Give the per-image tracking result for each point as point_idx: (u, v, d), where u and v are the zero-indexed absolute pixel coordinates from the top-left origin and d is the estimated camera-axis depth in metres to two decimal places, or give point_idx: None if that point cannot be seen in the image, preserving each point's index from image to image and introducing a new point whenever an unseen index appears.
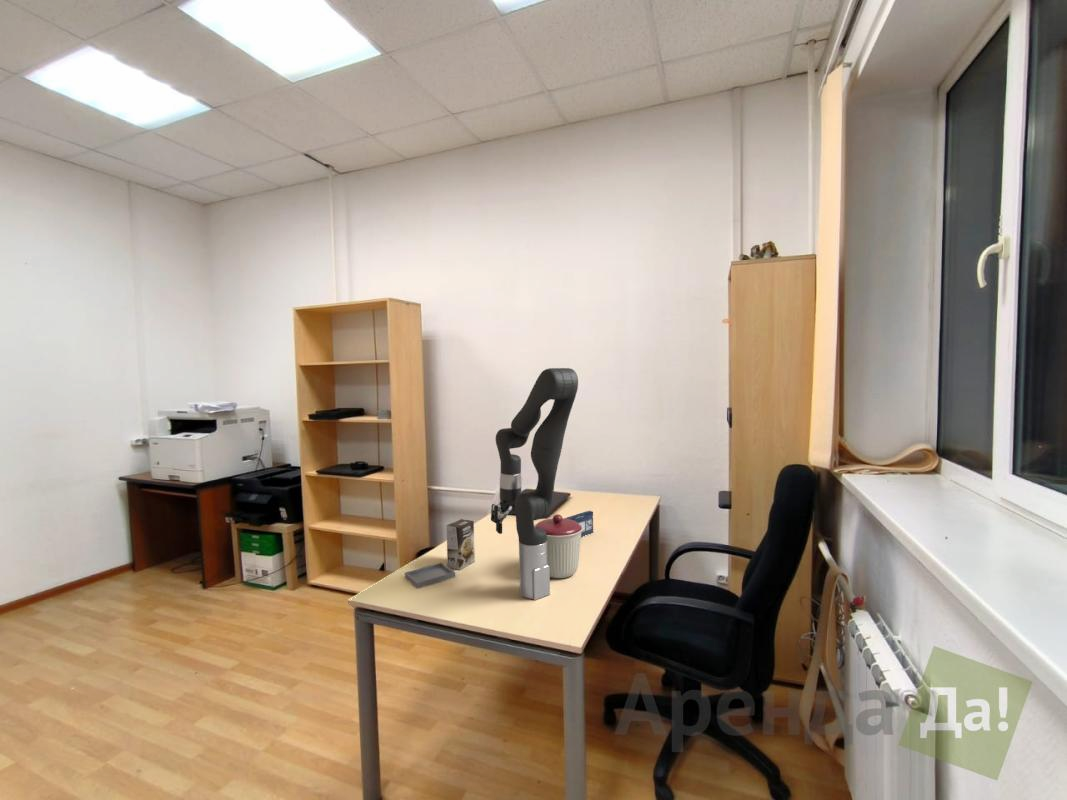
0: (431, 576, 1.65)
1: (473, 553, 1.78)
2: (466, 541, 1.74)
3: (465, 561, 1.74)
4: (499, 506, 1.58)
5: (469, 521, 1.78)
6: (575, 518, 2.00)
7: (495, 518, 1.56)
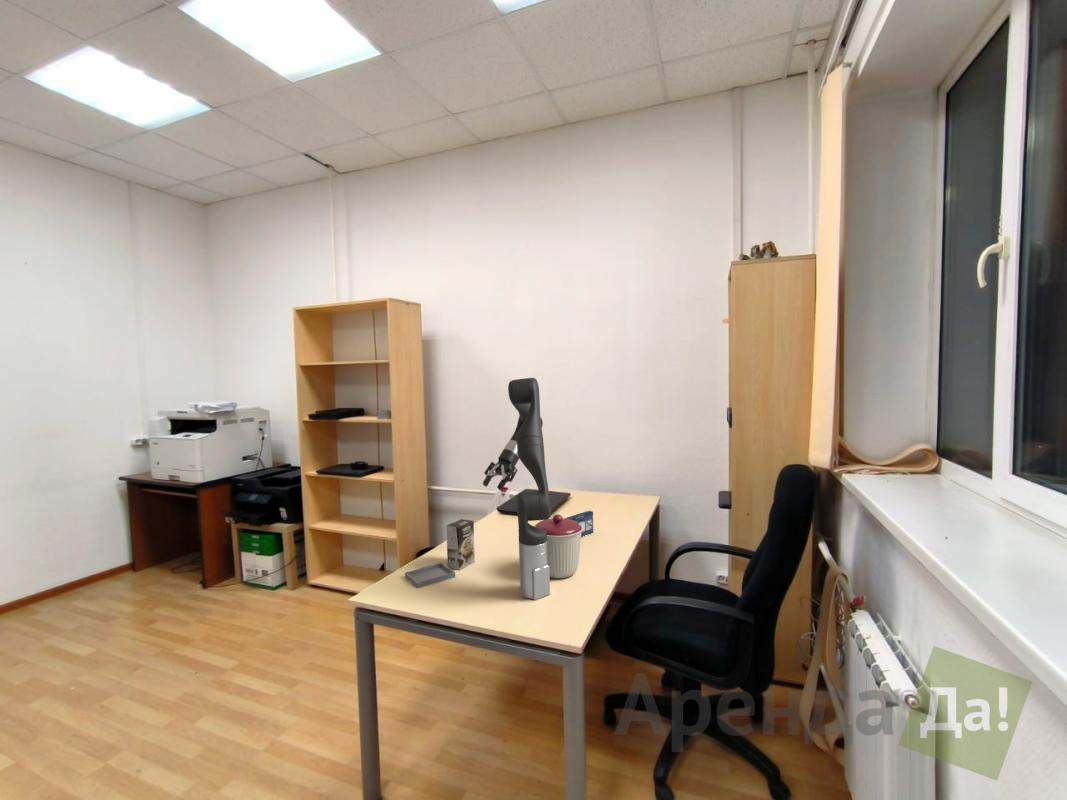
0: (431, 576, 1.65)
1: (473, 553, 1.78)
2: (466, 541, 1.74)
3: (465, 561, 1.74)
4: (495, 464, 1.91)
5: (469, 521, 1.78)
6: (575, 518, 2.00)
7: (486, 470, 1.90)
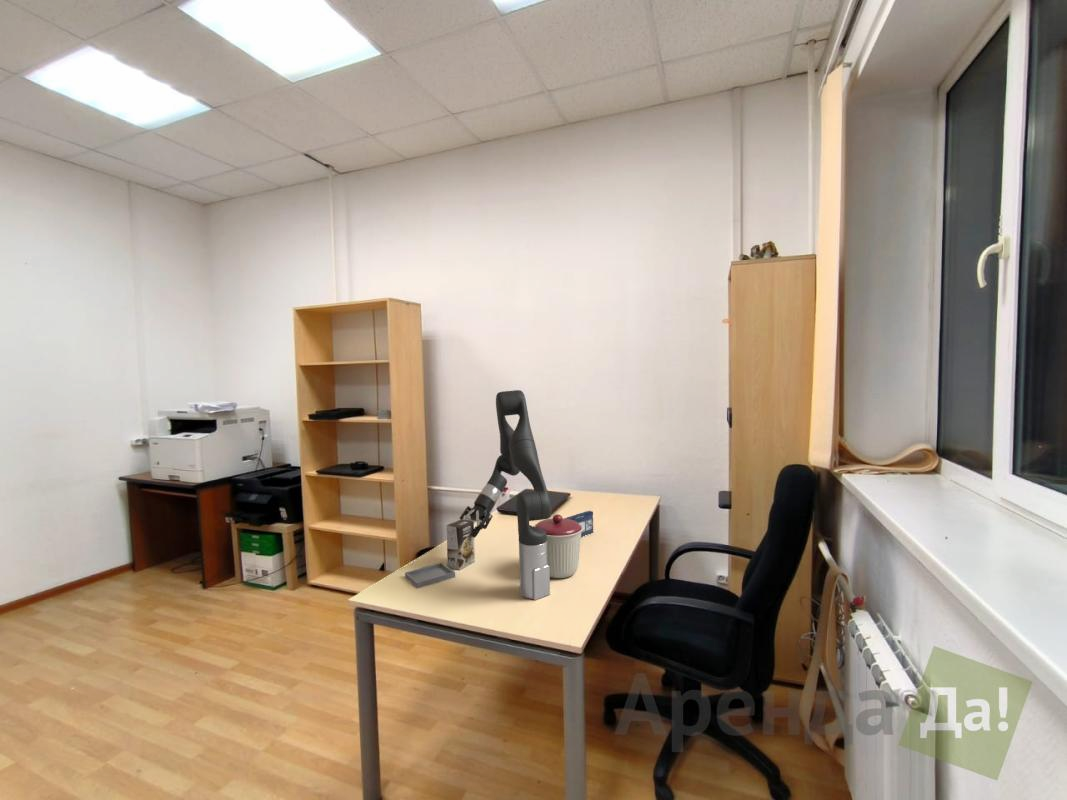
0: (431, 576, 1.65)
1: (473, 553, 1.78)
2: (466, 541, 1.74)
3: (465, 561, 1.74)
4: (471, 509, 1.85)
5: (469, 521, 1.78)
6: (575, 518, 2.00)
7: (462, 515, 1.85)
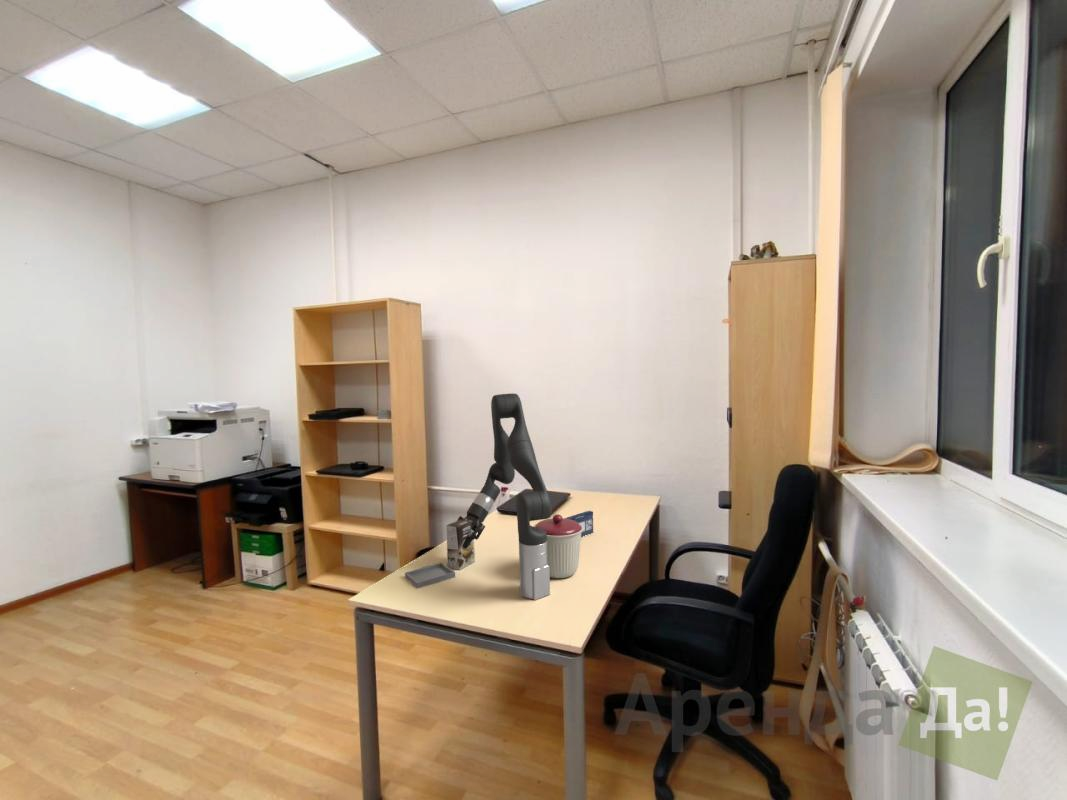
0: (431, 576, 1.65)
1: (473, 553, 1.78)
2: None
3: (465, 561, 1.74)
4: None
5: (469, 520, 1.78)
6: (575, 518, 2.00)
7: None
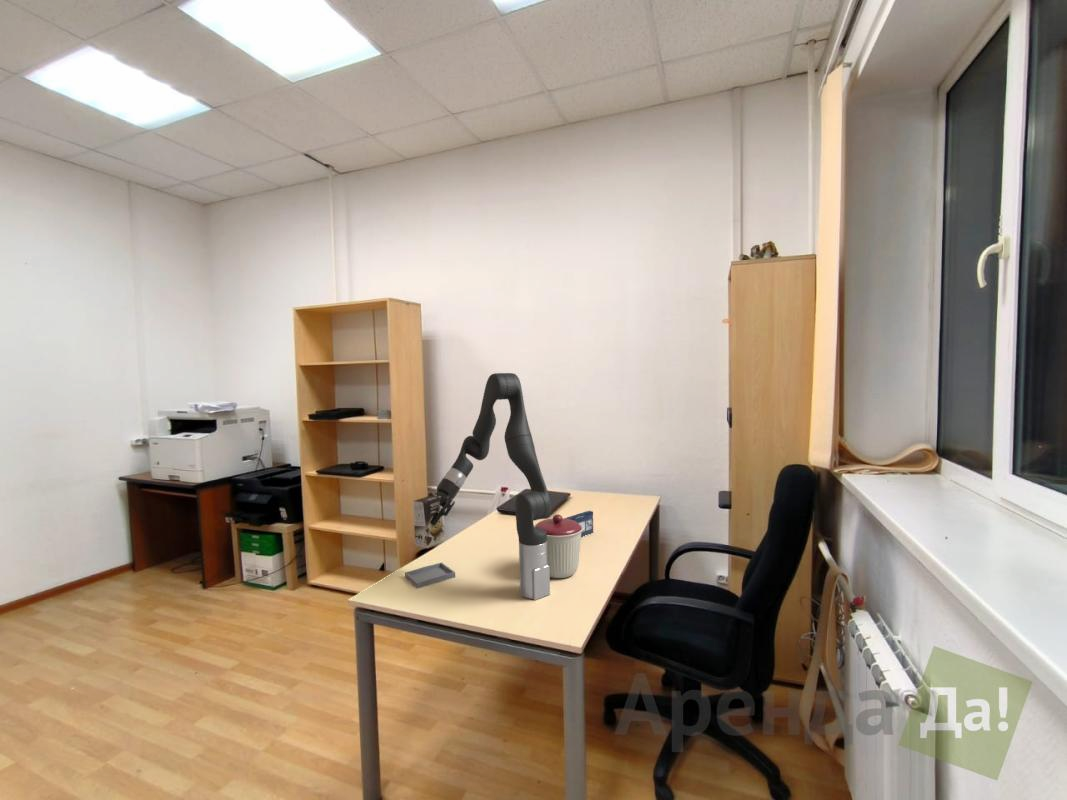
0: (431, 576, 1.65)
1: (443, 531, 1.67)
2: None
3: (433, 539, 1.63)
4: (433, 495, 1.72)
5: None
6: (575, 518, 2.00)
7: None
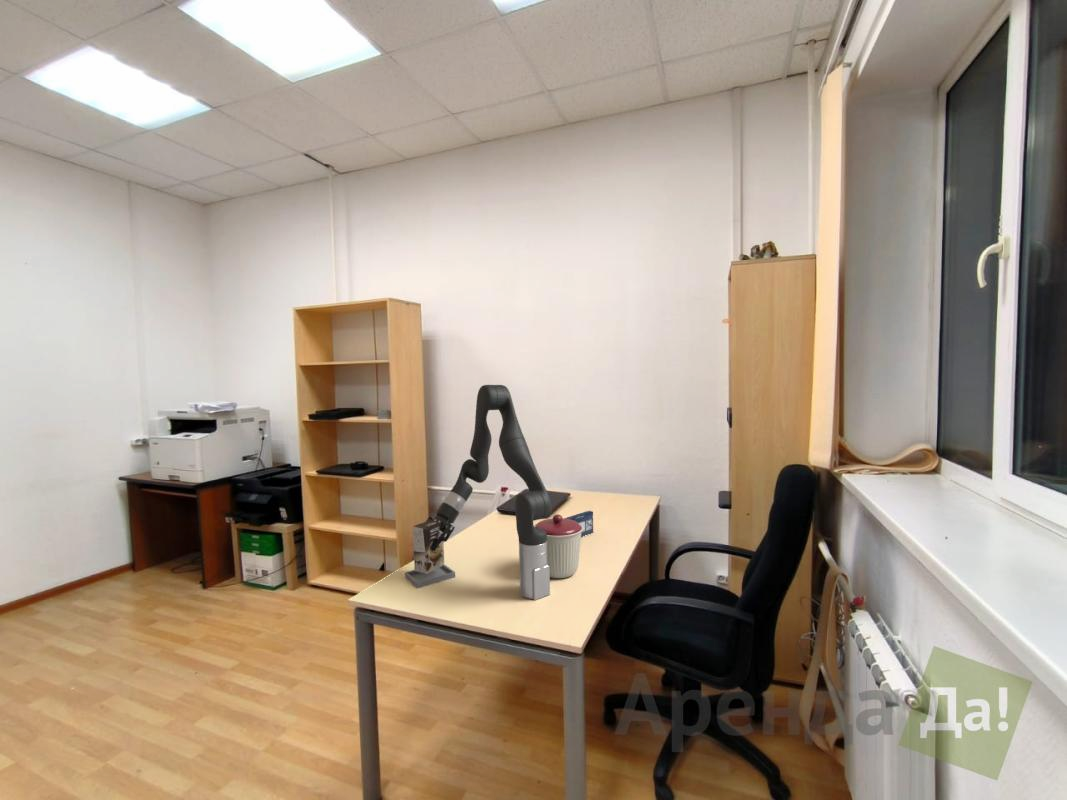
0: (431, 576, 1.65)
1: (442, 556, 1.67)
2: None
3: (433, 564, 1.63)
4: (432, 519, 1.72)
5: None
6: (575, 518, 2.00)
7: None
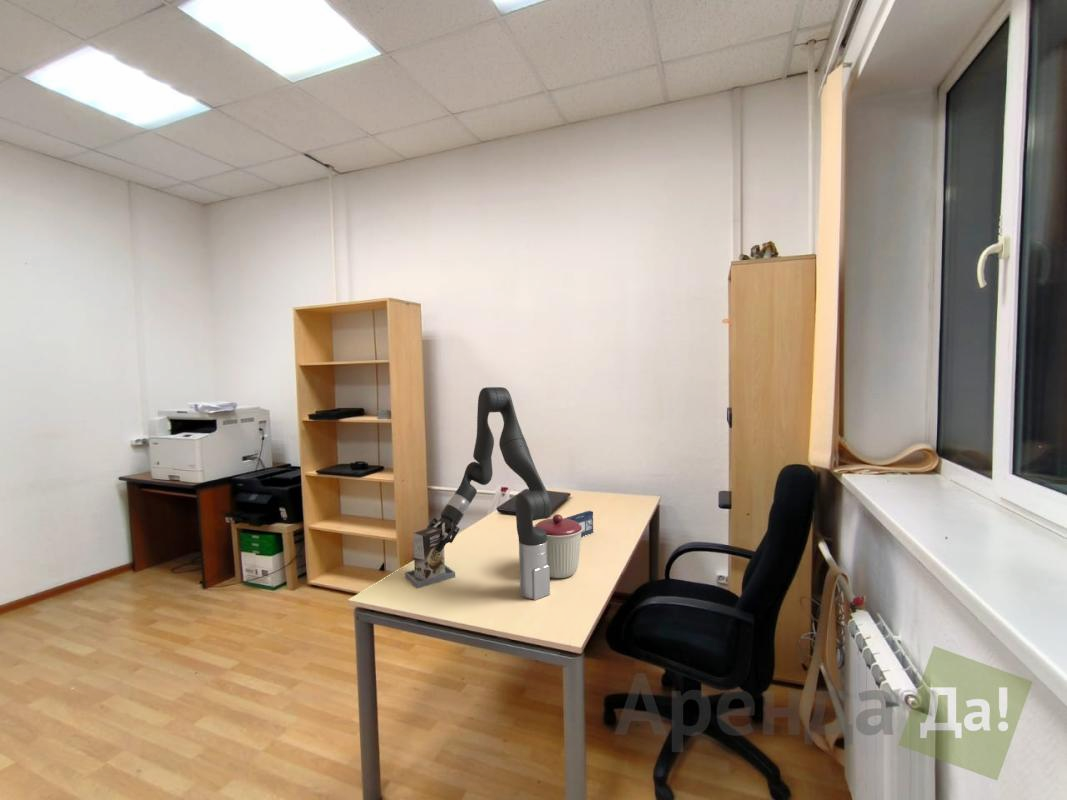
0: None
1: (443, 563, 1.67)
2: (434, 551, 1.64)
3: (432, 572, 1.63)
4: (437, 521, 1.74)
5: (439, 529, 1.67)
6: (575, 518, 2.00)
7: (427, 527, 1.73)
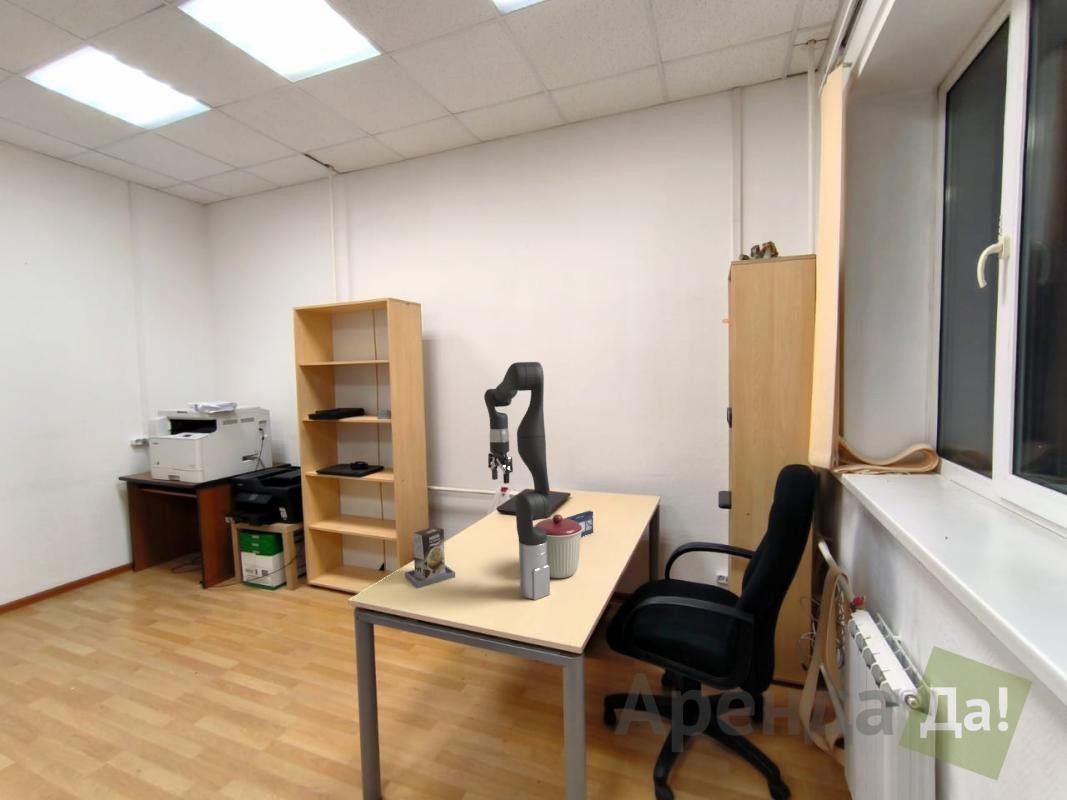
0: None
1: (443, 563, 1.67)
2: (434, 551, 1.64)
3: (432, 572, 1.63)
4: None
5: (439, 529, 1.67)
6: (575, 518, 2.00)
7: (488, 463, 1.86)
